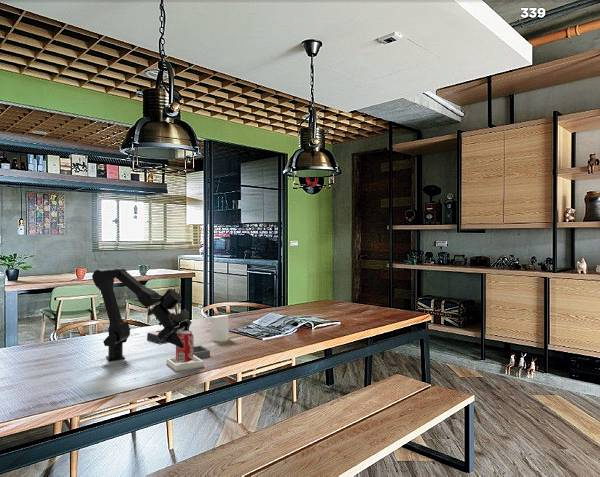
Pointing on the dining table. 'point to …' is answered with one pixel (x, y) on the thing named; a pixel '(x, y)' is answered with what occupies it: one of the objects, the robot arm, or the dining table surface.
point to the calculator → (155, 337)
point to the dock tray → (184, 364)
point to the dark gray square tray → (201, 351)
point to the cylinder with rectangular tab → (219, 328)
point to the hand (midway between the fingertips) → (187, 345)
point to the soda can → (185, 347)
